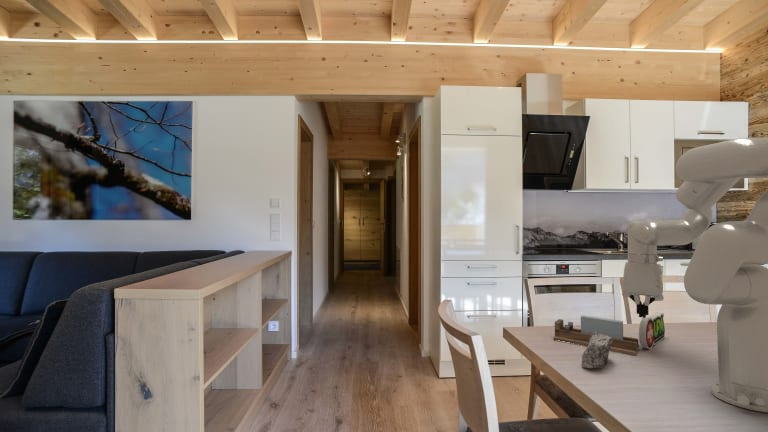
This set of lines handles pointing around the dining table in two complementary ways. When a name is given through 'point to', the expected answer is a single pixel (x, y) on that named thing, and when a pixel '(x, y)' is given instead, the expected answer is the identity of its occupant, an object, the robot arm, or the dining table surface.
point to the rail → (577, 337)
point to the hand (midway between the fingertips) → (642, 316)
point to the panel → (602, 326)
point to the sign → (651, 330)
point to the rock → (596, 351)
